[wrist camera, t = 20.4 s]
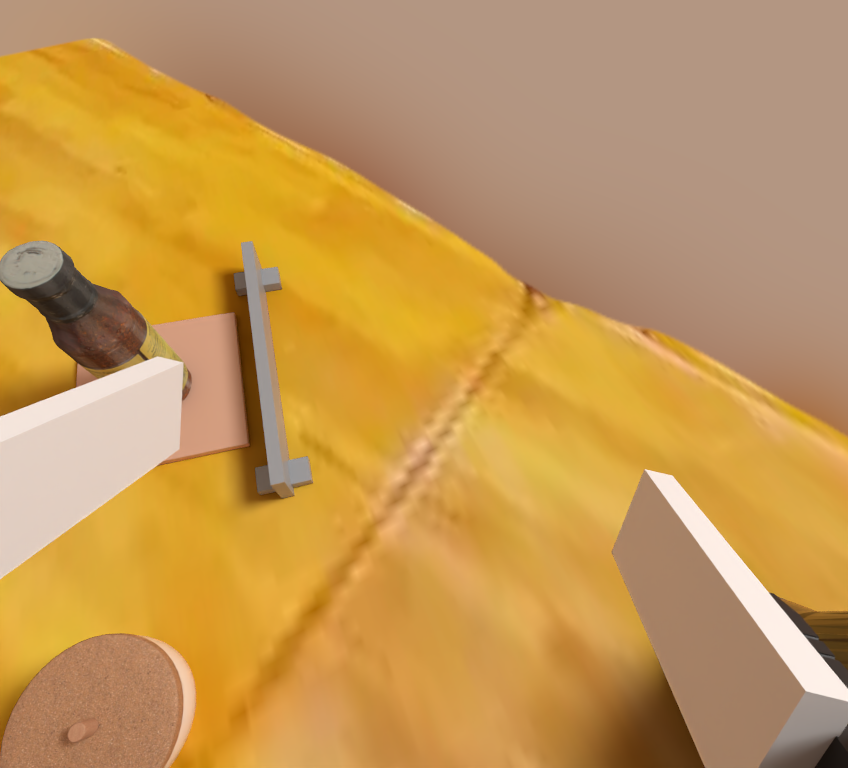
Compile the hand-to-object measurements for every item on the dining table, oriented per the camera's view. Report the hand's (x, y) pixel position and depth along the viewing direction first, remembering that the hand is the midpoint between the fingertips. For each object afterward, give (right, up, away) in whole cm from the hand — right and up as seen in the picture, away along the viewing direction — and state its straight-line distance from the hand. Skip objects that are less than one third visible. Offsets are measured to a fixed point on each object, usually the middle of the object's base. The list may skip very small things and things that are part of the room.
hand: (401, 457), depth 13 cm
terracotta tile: (-27, +1, +36) cm, 45 cm away
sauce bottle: (-26, +1, +36) cm, 44 cm away
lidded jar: (-21, -24, +24) cm, 40 cm away
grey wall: (-16, +3, +38) cm, 42 cm away
